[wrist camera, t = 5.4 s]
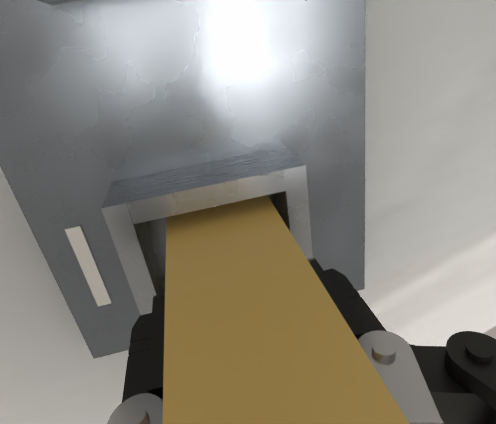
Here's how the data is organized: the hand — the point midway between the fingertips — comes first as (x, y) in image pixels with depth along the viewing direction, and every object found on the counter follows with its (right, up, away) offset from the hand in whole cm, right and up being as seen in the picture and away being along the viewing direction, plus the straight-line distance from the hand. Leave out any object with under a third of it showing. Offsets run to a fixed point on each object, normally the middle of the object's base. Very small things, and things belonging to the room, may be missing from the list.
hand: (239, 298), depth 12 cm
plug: (-1, +1, +3) cm, 3 cm away
